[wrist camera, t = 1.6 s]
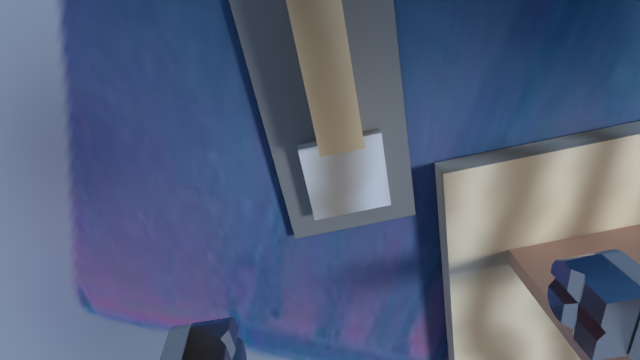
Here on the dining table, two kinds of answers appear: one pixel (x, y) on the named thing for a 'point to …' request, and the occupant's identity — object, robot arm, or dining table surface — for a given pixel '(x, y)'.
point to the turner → (335, 117)
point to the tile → (538, 259)
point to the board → (525, 232)
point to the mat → (293, 109)
